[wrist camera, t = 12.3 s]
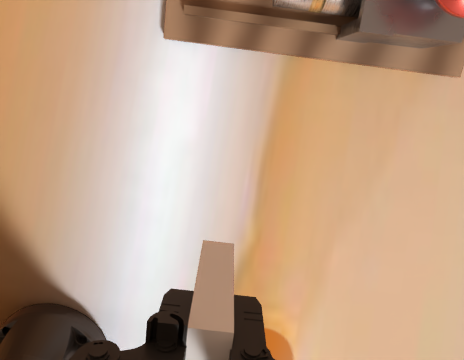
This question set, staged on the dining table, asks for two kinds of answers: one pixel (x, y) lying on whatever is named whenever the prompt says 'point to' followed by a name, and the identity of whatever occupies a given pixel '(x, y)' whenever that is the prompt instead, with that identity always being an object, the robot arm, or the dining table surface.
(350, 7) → the pipe
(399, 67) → the board
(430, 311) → the dining table surface
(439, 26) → the gate valve
